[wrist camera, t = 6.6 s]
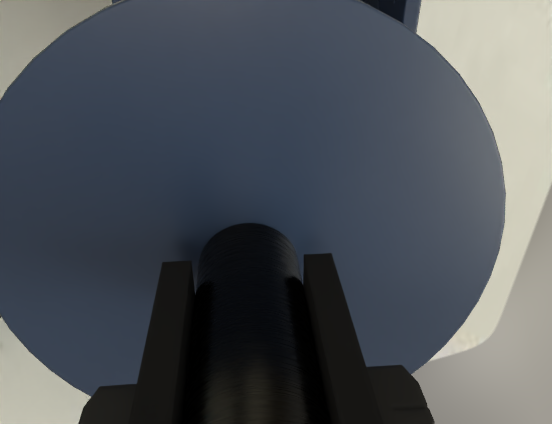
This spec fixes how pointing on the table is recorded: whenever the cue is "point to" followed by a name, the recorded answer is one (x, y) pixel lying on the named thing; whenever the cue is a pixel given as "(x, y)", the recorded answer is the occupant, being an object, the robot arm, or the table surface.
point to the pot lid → (242, 194)
